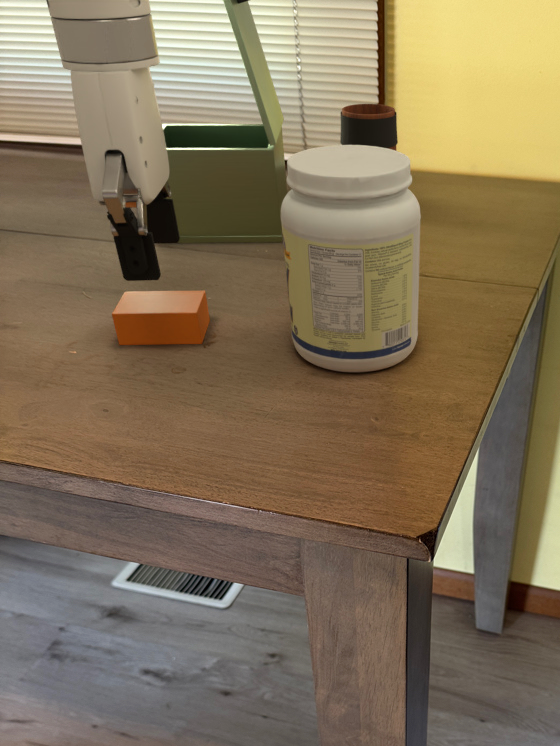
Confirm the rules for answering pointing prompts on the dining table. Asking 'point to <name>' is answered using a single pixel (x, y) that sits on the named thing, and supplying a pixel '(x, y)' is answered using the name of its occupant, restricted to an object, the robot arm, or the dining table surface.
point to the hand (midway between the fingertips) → (153, 259)
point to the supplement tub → (352, 256)
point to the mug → (369, 125)
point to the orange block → (161, 317)
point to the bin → (226, 182)
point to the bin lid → (255, 66)
